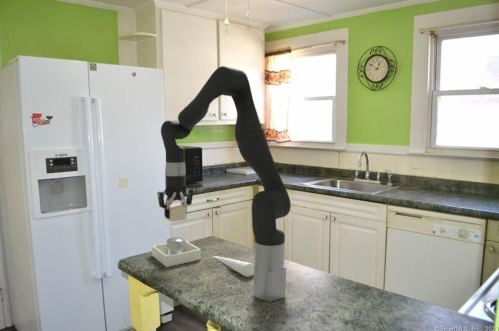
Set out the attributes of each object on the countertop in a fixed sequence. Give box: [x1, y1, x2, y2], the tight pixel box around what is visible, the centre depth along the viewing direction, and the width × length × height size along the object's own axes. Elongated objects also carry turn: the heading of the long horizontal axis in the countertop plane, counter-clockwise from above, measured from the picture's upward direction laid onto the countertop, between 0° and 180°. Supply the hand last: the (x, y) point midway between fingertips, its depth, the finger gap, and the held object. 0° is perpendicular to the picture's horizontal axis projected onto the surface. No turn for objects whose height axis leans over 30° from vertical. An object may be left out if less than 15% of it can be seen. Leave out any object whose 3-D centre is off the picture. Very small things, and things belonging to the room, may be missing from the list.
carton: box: [164, 203, 187, 222], centre depth 149 cm, size 6×6×5 cm
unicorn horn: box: [212, 255, 254, 278], centre depth 145 cm, size 5×24×5 cm, turn 35°
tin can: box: [166, 236, 186, 256], centre depth 150 cm, size 7×7×7 cm
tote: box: [151, 239, 202, 268], centre depth 151 cm, size 14×14×4 cm
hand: (175, 216), depth 149 cm, fingers closed on carton, 6 cm apart
